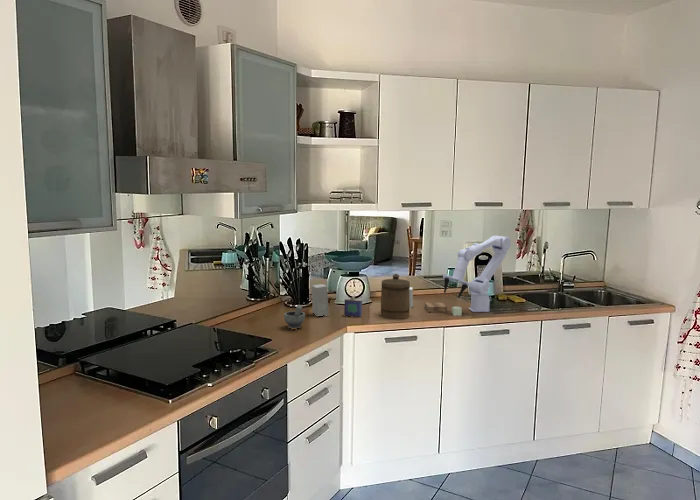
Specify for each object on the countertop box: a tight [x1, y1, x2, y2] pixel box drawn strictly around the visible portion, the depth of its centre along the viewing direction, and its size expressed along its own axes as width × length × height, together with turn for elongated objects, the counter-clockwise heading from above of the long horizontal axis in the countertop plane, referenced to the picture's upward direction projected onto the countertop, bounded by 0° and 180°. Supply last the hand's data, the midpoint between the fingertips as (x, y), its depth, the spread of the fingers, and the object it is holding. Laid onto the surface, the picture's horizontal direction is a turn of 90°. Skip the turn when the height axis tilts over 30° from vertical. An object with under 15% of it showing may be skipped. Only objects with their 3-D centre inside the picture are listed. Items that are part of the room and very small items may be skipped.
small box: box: [409, 286, 414, 309], centre depth 301 cm, size 8×6×10 cm
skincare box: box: [311, 283, 330, 317], centre depth 279 cm, size 8×7×16 cm
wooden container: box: [380, 273, 411, 320], centre depth 280 cm, size 15×15×22 cm
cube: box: [451, 306, 463, 317], centre depth 284 cm, size 4×4×4 cm
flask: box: [343, 295, 363, 318], centre depth 278 cm, size 9×3×11 cm, turn 78°
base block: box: [424, 302, 448, 313], centre depth 293 cm, size 10×10×3 cm
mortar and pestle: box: [283, 304, 306, 328], centre depth 255 cm, size 11×9×12 cm
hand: (451, 295), depth 284 cm, fingers open, 7 cm apart
